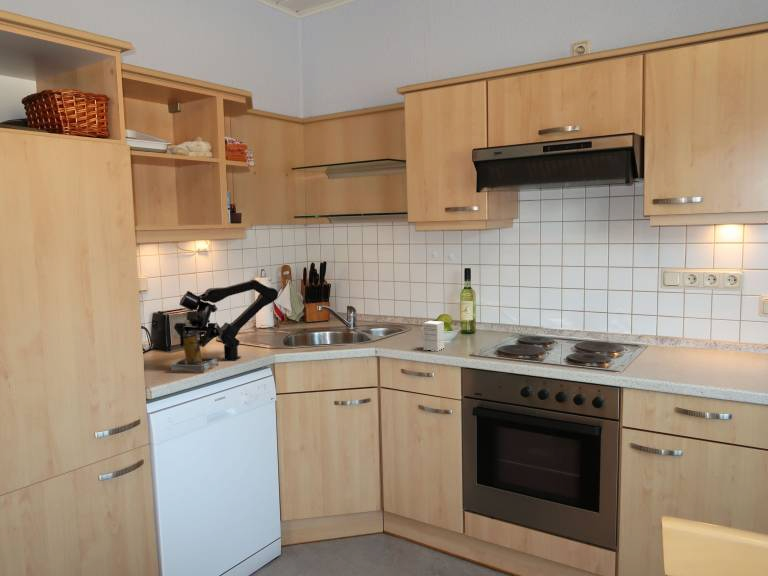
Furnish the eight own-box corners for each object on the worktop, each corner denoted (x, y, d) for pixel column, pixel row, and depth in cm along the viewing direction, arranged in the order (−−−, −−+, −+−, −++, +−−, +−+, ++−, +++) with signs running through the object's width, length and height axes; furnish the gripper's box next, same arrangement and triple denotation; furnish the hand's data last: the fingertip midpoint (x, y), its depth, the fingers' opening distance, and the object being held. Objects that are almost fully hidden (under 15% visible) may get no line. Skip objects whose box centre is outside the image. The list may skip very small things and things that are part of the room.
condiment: (198, 363, 260) (192, 335, 260) (209, 361, 254) (203, 332, 255) (182, 367, 254) (176, 338, 255) (193, 365, 249) (187, 335, 249)
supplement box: (430, 347, 287) (429, 320, 285) (444, 348, 283) (444, 321, 281) (422, 350, 280) (422, 322, 279) (437, 352, 276) (437, 323, 275)
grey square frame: (187, 364, 264) (186, 357, 263) (218, 364, 261) (217, 357, 261) (170, 372, 250) (170, 365, 250) (203, 373, 247) (202, 365, 247)
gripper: (174, 303, 258) (162, 334, 248) (217, 303, 255) (206, 335, 245) (185, 319, 267) (173, 350, 257) (226, 319, 263) (216, 350, 254)
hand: (191, 346), depth 253 cm, fingers open, 9 cm apart
